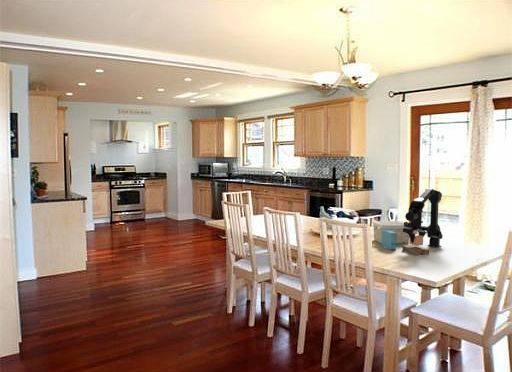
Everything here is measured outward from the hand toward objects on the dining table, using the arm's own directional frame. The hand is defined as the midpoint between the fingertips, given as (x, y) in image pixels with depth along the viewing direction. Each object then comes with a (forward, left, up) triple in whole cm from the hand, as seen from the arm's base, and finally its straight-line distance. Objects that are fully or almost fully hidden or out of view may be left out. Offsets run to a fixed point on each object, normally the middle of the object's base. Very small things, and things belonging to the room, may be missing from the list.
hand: (416, 242), depth 267 cm
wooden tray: (0, 0, -7) cm, 7 cm away
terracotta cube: (0, 0, -1) cm, 1 cm away
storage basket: (-7, -32, -7) cm, 34 cm away
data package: (+8, -17, -7) cm, 20 cm away
